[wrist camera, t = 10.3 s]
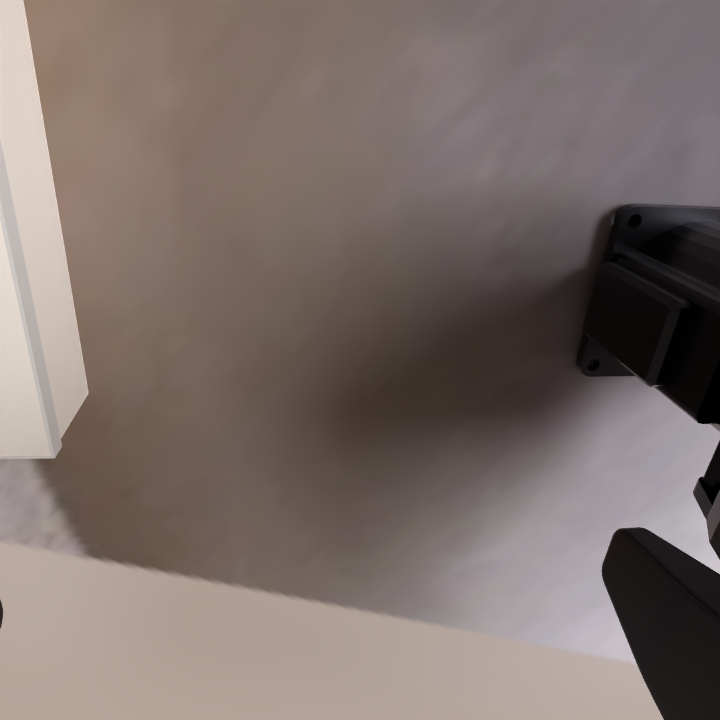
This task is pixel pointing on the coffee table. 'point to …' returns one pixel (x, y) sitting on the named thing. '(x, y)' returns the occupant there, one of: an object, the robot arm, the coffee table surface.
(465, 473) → the coffee table surface
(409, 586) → the coffee table surface
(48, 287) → the white rectangular box
